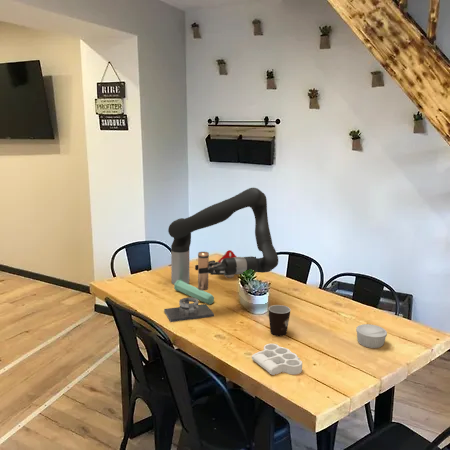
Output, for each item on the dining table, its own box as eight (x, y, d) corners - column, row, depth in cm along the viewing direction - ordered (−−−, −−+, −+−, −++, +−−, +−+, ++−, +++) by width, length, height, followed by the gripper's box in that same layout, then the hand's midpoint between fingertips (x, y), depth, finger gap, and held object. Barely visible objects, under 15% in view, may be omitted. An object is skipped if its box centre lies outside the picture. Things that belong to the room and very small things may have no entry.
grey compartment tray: (246, 357, 169) (280, 348, 176) (276, 381, 154) (311, 370, 161) (246, 349, 168) (280, 340, 176) (276, 372, 153) (312, 361, 160)
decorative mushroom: (210, 276, 257) (210, 249, 253) (229, 271, 266) (229, 245, 263) (228, 283, 246) (229, 255, 243) (247, 277, 256) (248, 250, 252)
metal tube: (196, 287, 207) (196, 252, 204) (206, 286, 209) (206, 251, 206) (199, 291, 203) (199, 254, 200) (209, 289, 205) (210, 254, 201)
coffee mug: (275, 339, 183) (276, 314, 181) (263, 330, 191) (264, 307, 189) (300, 333, 188) (301, 309, 186) (287, 325, 196) (288, 302, 194)
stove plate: (164, 311, 208) (164, 298, 207) (205, 306, 215) (205, 293, 214) (170, 322, 197) (170, 308, 196) (214, 316, 204) (214, 303, 202)
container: (214, 291, 217) (181, 277, 235) (205, 299, 214) (172, 283, 232) (217, 301, 220) (185, 286, 238) (208, 309, 217) (176, 293, 235)
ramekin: (381, 352, 174) (382, 339, 173) (351, 345, 180) (352, 331, 179) (389, 341, 183) (390, 328, 182) (360, 334, 189) (361, 321, 188)
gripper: (228, 253, 215) (192, 256, 209) (240, 262, 202) (202, 265, 196) (228, 269, 216) (192, 272, 211) (240, 279, 203) (202, 283, 197)
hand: (197, 269), depth 203 cm, fingers closed on metal tube, 4 cm apart
